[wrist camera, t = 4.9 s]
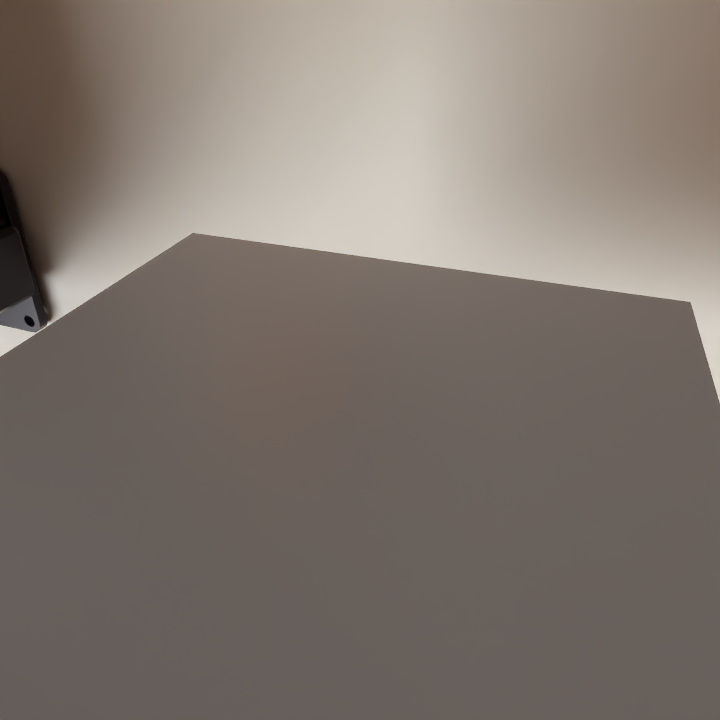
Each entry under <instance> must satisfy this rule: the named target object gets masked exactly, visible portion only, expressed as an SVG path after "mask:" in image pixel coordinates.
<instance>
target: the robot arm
mask: <svg viewBox="0 0 720 720" xmlns="http://www.w3.org/2000/svg"><path fill="white" fill-rule="evenodd" d="M0 325H3V326H8V327H12V328H17V329H21V330H26V331H30V332H37V331H39V330H40V329H42V328H44V327H45V326H46V325H47V318H46V314H45V310H44V307H43V303H42V300H41V296H40V293H39V289H38V285H37V282H36V278H35V275H34V271H33V268H32V264H31V261H30V257H29V253H28V250H27V246H26V243H25V239H24V236H23V232H22V229H21V225H20V221H19V218H18V214H17V211H16V207H15V204H14V200H13V196H12V193H11V189H10V186H9V183H8V180H7V178H6V176H5V175H4V174H3V173H2V172H1V171H0Z"/></svg>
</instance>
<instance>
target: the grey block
mask: <svg viewBox="0 0 720 720" xmlns="http://www.w3.org/2000/svg"><path fill="white" fill-rule="evenodd" d="M0 720H720V403H719V400H718V396H717V393H716V389H715V386H714V382H713V379H712V375H711V372H710V368H709V365H708V361H707V358H706V355H705V351H704V348H703V344H702V341H701V337H700V334H699V330H698V327H697V323H696V320H695V316H694V313H693V309H692V306H691V303H690V302H685V301H678V300H670V299H663V298H656V297H649V296H642V295H634V294H627V293H620V292H613V291H606V290H598V289H591V288H584V287H577V286H570V285H562V284H555V283H548V282H541V281H534V280H527V279H519V278H512V277H505V276H498V275H491V274H483V273H476V272H469V271H462V270H455V269H447V268H440V267H433V266H426V265H419V264H411V263H404V262H397V261H390V260H383V259H376V258H368V257H361V256H354V255H347V254H340V253H332V252H325V251H318V250H311V249H304V248H296V247H289V246H282V245H275V244H268V243H260V242H253V241H246V240H239V239H232V238H224V237H217V236H210V235H203V234H196V233H192V234H191V235H189V236H188V237H186V238H185V239H183V240H181V241H180V242H178V243H177V244H175V245H174V246H172V247H171V248H169V249H167V250H166V251H164V252H163V253H161V254H160V255H158V256H157V257H155V258H153V259H152V260H150V261H149V262H147V263H146V264H144V265H143V266H141V267H139V268H138V269H136V270H135V271H133V272H132V273H130V274H129V275H127V276H125V277H124V278H122V279H121V280H119V281H118V282H116V283H115V284H113V285H111V286H110V287H108V288H107V289H105V290H104V291H102V292H101V293H99V294H98V295H96V296H94V297H93V298H91V299H90V300H88V301H87V302H85V303H84V304H82V305H80V306H79V307H77V308H76V309H74V310H73V311H71V312H70V313H68V314H66V315H65V316H63V317H62V318H60V319H59V320H57V321H56V322H54V323H52V324H51V325H49V326H48V327H46V328H45V329H43V330H42V331H40V332H38V333H37V334H35V335H34V336H32V337H31V338H29V339H28V340H26V341H24V342H23V343H21V344H20V345H18V346H17V347H15V348H14V349H12V350H10V351H9V352H7V353H6V354H4V355H3V356H1V357H0Z"/></svg>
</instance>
